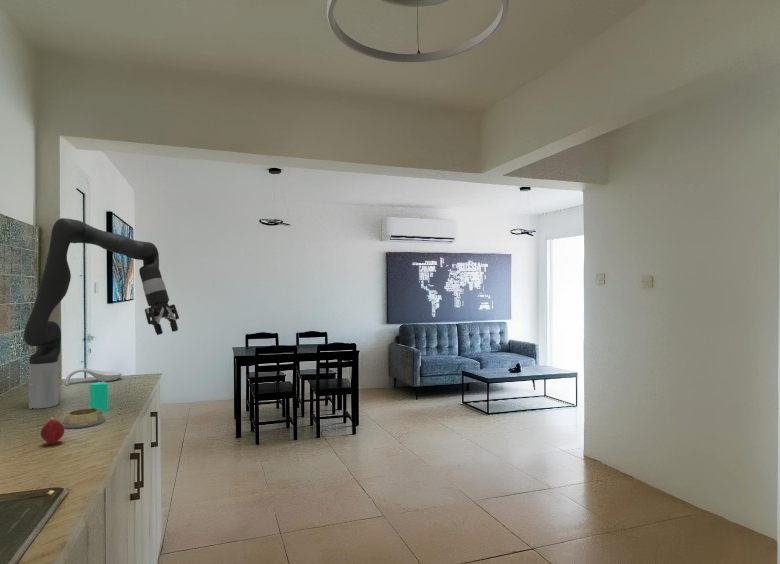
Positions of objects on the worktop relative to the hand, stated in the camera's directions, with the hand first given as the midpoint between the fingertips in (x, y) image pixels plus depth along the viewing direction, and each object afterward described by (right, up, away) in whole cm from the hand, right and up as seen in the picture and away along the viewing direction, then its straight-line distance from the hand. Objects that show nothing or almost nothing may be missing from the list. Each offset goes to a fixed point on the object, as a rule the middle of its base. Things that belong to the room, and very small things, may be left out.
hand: (167, 332), depth 185 cm
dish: (-22, -30, -15) cm, 40 cm away
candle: (-27, -30, +1) cm, 40 cm away
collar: (-22, -30, -15) cm, 40 cm away
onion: (-18, -30, -37) cm, 51 cm away
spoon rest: (-60, -30, +53) cm, 85 cm away
